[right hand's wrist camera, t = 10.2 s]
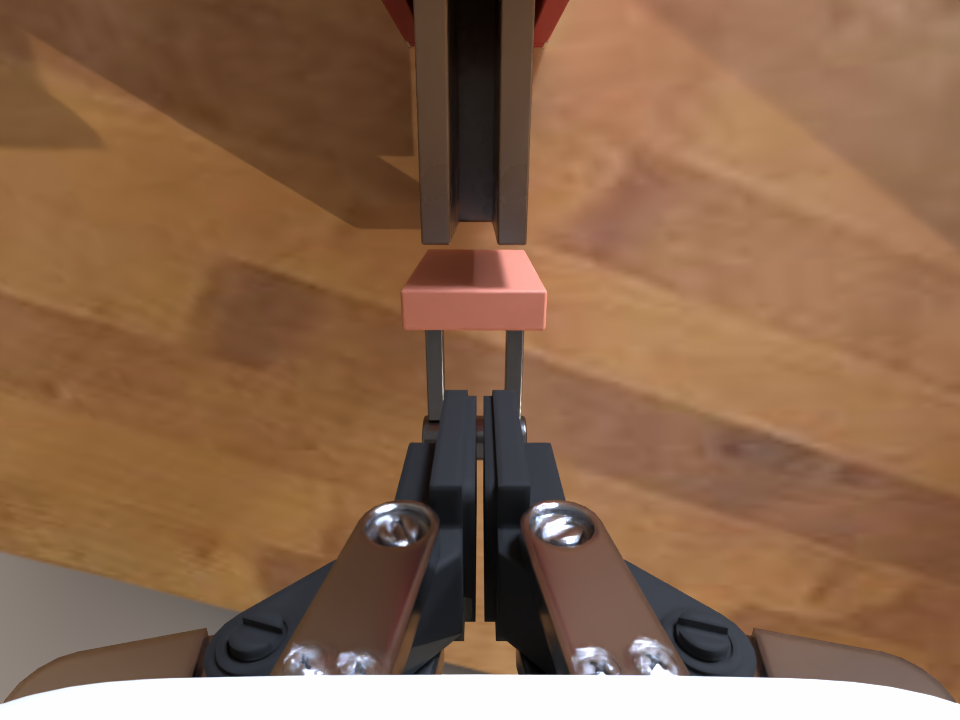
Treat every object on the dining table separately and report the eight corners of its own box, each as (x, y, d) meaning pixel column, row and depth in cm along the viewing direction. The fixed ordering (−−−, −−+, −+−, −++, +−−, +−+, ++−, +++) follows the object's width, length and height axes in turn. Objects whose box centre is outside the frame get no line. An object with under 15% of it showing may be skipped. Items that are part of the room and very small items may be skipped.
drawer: (519, 401, 24) (536, 503, 17) (432, 401, 24) (410, 502, 17) (547, -394, 15) (610, -930, 8) (407, -395, 15) (338, -932, 8)
